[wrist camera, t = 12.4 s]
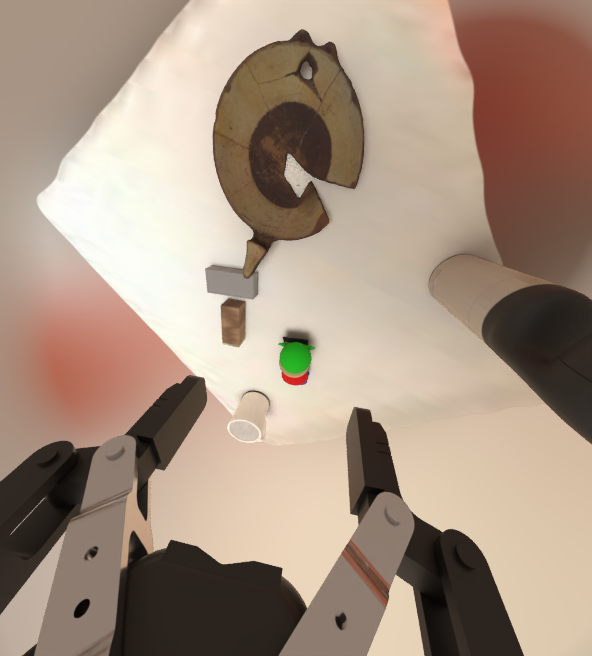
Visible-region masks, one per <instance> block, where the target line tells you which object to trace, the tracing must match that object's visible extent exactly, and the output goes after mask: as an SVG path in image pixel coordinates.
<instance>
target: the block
mask: <svg viewBox="0 0 592 656" xmlns="http://www.w3.org/2000/svg"><path fill="white" fill-rule="evenodd" d="M221 321H222V340H223V344H224V345H230V346H235V347H240V345H241V344H242V342H243V341H244V339H245V301H239V300H234V299H227V300H226V301H225V302H224V303H223V304H222V305H221Z"/></svg>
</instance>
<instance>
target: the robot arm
mask: <svg viewBox="0 0 592 656" xmlns="http://www.w3.org/2000/svg"><path fill="white" fill-rule="evenodd" d="M429 289H430V292H431V294H432V296H433V297H434V298H435V299H436V300H437V301H438V302H439V303H441V304H442V305H443V306H444V307H445V308H446V309H447V310H448V311H449V312H451V313H452V314H453V315H454V316H455V317H456V318H457V319H458V320H460V321H461V322H462V323H463V324H464V325H465V326H466V327H467V328H469V329H470V330H471V331H472V332H473V333H474V334H475V335H477V336H478V337H479V338H480V339H481V340H482V341H483V342H485V343H486V344H487V345H488V346H489V347H490V348H491V349H492V350H493V351H494V352H495V353H496V354H497V355H498V356H499V357H500V358H501V359H502V360H503V361H504V362H505V363H506V364H508V365H509V366H510V367H511V368H512V369H513V370H514V371H515V372H516V373H517V374H518V375H519V376H520V377H521V378H522V379H523V380H524V381H525V382H526V383H527V384H528V385H529V387H530V388H531V389H532V390H533V391H534V392H535V393H536V394H537V395H538V396H539V397H540V398H541V399H542V400H543V401H544V402H545V403H546V404H547V405H548V406H549V407H550V408H551V409H552V410H553V411H554V412H555V413H556V414H557V415H558V416H559V417H560V418H561V419H563V420H564V422H566V423H567V424H568V425H569V426H570V427H571V428H573V429H574V430H575V431H576V432H578V433H579V434H580V435H581V436H582V437H583V438H585V439H586V440H587V441H588V442H590V443H591V444H592V300H591V299H589V298H588V297H587V296H585V295H584V294H582V293H579V292H577V291H575V290H571V289H568V288H566V287H563V286H560V285H557V284H554V283H551V282H548V281H545V280H542V279H539V278H536V277H533V276H530V275H527V274H524V273H522V272H519V271H516V270H513V269H510V268H507V267H504V266H501V265H498V264H495V263H492V262H490V261H487V260H484V259H481V258H478V257H475V256H472V255H466V254H465V255H457V256H453V257H451V258H449V259H447V260H445V261H444V262H442V263H441V264H440V265H439V266H438V267H437V268H436V269H435V270H434V272H433V273H432V275H431V278H430V281H429ZM206 402H207V393H206V386H205V379H204V378H202V377H197V376H192V375H189V376H187V377H186V378H185V379H184V380H183V382H182V383H181V384H179V383H176V384H174V385H173V386H171V387H170V388H168V389H166V391H165V392H164V393H163V394H162V395H161V396H160V397H159V399H157V400H156V402H154V404H153V406H151V407H150V408H149V409H148V410H147V411H146V412H145V414H144V415H143V416H142V417H141V418H140V419H139V420H138V421H137V422H136V423H135V424H134V425H133V427H131V429H130V430H129V431H128V432H127V433H126V434H125V435H122V436H118V437H115V438H112V439H110V440H109V441H107V442H105V443H104V444H103V445H102V446H97V447H88V448H79V449H75V447H74V446H73V444H72V443H71V442H68V441H58V442H54V443H51V444H49V445H46V446H44V447H42V448H41V449H39V450H37V451H36V452H35V453H33V454H32V455H31V456H30V457H29V458H27V459H26V460H25V461H24V462H23V463H22V464H20V465H19V466H18V467H17V468H16V469H15V470H14V471H12V472H11V473H10V474H9V475H8V476H7V477H6V478H4V479H3V480H2V481H1V482H0V614H1V613H2V612H3V610H4V609H5V608H6V606H7V605H8V604H9V603H10V601H11V600H12V599H13V598H14V596H15V595H16V594H17V592H18V591H19V590H20V589H21V587H22V586H23V585H24V583H25V582H26V581H27V580H28V578H29V577H30V576H31V574H32V573H33V572H34V570H35V569H36V568H37V567H38V565H39V564H40V562H41V561H42V560H43V559H44V558H45V556H46V555H47V554H48V553H49V551H50V550H51V549H52V547H53V546H54V545H55V543H56V542H57V541H58V540H59V538H60V537H61V536H62V535H63V533H64V532H65V531H66V533H65V537H64V541H63V545H62V549H61V553H60V557H59V561H58V565H57V568H56V572H55V576H54V581H53V584H52V588H51V592H50V596H49V600H48V604H47V608H46V612H45V615H44V619H43V623H42V627H41V631H40V635H39V639H38V643H37V644H36V645H35V646H33V647H32V648H31V649H30V650H29V651H27V652H26V653H25V654H24V655H23V656H367V653H368V651H369V648H370V646H371V643H372V641H373V638H374V636H375V633H376V631H377V629H378V626H379V624H380V621H381V619H382V616H383V614H384V611H385V609H386V606H387V603H388V599H389V589H390V587H391V584H392V582H393V579H394V577H395V575H397V576H399V577H400V578H401V579H403V580H404V581H406V582H407V583H409V584H410V585H411V586H413V590H414V595H415V602H416V607H417V613H418V619H419V625H420V631H421V637H422V643H423V649H424V655H425V656H524V655H523V652H522V649H521V647H520V644H519V642H518V639H517V637H516V634H515V632H514V629H513V627H512V624H511V621H510V619H509V616H508V614H507V611H506V609H505V606H504V604H503V601H502V599H501V596H500V593H499V591H498V588H497V586H496V584H495V581H494V578H493V576H492V573H491V570H490V568H489V566H488V563H487V561H486V559H485V557H484V555H483V553H482V552H481V550H480V549H479V548H478V546H477V545H476V544H475V543H474V542H473V541H472V540H471V539H470V538H469V537H468V536H466V535H465V534H463V533H462V532H460V531H457V530H453V529H448V530H446V531H444V532H441V531H440V530H438V529H436V528H435V527H433V526H431V525H429V524H428V523H426V522H424V521H423V520H421V519H420V518H418V517H417V516H416V515H414V514H413V513H412V512H411V510H410V509H409V507H408V506H407V504H406V503H405V502H404V501H403V499H402V496H401V494H400V490H399V486H398V481H397V477H396V474H395V469H394V465H393V460H392V456H391V452H390V447H389V446H388V445H389V443H388V439H387V435H386V432H385V431H384V429H383V427H382V426H381V424H380V423H377V422H372V417H371V412H370V410H368V409H363V408H358V407H354V408H353V411H352V414H351V417H350V420H349V423H348V426H347V432H346V443H347V461H348V479H349V496H350V513H351V514H353V515H357V516H358V523H359V526H358V528H357V529H356V531H355V533H354V534H353V536H352V538H351V539H350V541H349V543H348V544H347V545H346V547H345V548H344V550H343V552H342V553H341V555H340V557H339V558H338V560H337V561H336V563H335V565H334V566H333V568H332V570H331V571H330V573H329V574H328V576H327V578H326V579H325V581H324V583H323V584H322V586H321V587H320V589H319V591H318V592H317V594H316V596H315V597H314V599H313V600H312V602H311V604H310V605H309V607H308V609H307V607H306V605H305V603H304V601H303V599H302V598H301V596H300V594H299V593H298V591H297V590H296V589H295V588H294V586H292V584H291V583H290V582H289V581H287V580H286V579H285V578H284V577H282V576H281V575H282V568H280V567H276V566H272V565H268V564H264V563H260V562H256V561H250V562H242V563H233V564H220V563H219V562H217V561H216V560H215V559H213V558H212V557H211V556H209V555H208V554H207V553H205V552H204V551H203V550H201V549H200V548H199V547H197V546H193V545H189V544H185V543H181V542H178V541H174V540H171V541H170V542H169V544H168V547H167V548H166V549H161V550H157V551H155V552H153V537H152V532H151V524H150V512H151V511H150V510H151V505H150V503H151V477H150V476H151V474H152V473H153V472H154V470H155V469H160V470H165V469H166V467H167V466H168V464H169V463H170V461H171V459H172V458H173V456H174V455H175V453H176V452H177V450H178V448H179V447H180V445H181V444H182V442H183V441H184V439H185V438H186V436H187V435H188V433H189V431H190V430H191V428H192V427H193V425H194V424H195V422H196V420H197V419H198V418H199V416H200V414H201V413H202V411H203V410H204V408H205V406H206ZM43 498H45V499H44V500H43V501H42V502H41V503H40V501H41V500H42V499H43ZM39 503H40V504H39ZM38 504H39V505H38ZM37 505H38V506H37ZM36 506H37V507H36ZM35 507H36V508H35ZM34 508H35V509H34ZM33 509H34V510H33ZM32 510H33V512H32V513H31V514H30V515H29V516H28V517H27V518H26V519H25V517H26V516H27V515H28V514H29V513H30V512H31V511H32ZM24 519H25V520H24ZM23 520H24V521H23ZM22 521H23V522H22ZM21 522H22V523H21ZM20 523H21V524H20ZM19 524H20V526H19V527H18V528H17V529H16V530H15V531H14V532H13V533H12V531H13V530H14V529H15V528H16V527H17V526H18V525H19ZM11 533H12V534H11ZM10 534H11V535H10Z"/></svg>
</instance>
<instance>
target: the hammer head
mask: <svg viewBox="0 0 592 656" xmlns="http://www.w3.org/2000/svg"><path fill="white" fill-rule="evenodd" d="M205 271H206V281H207V291H208V292H209V293H215V294H221V295H228V296H234V297H240V298H247V299H254V298H255V297H256V296H257V295H258V272H254V273H253V274H252V276H251V277H250V278H249V279H246V278H244V276H243V270H240V269H233V268H226V267H220V266H213V265H212V266H210V267H208V268H206V269H205Z"/></svg>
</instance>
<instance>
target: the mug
mask: <svg viewBox="0 0 592 656" xmlns="http://www.w3.org/2000/svg"><path fill="white" fill-rule="evenodd" d="M268 408H269V400H268V398H267V397H266V396H265V395H264V394H263V393H261V392H258V391H249V392H247V393H246V394H245V395H244V396H243V398H242V400H241V402H240V404H239V406H238V408H237V410H236V412H235V414H234V415H233V417H232V419H231V420H230V422H229V424H228V431H229V433H230V434H231V435H232V436H233V437H234V438H236V439H237V440H240V441H243V442H249V443H251V442H256V441H259V442H261V441H263V440H264V439H265V431H266V420H265V418H266V415H267V411H268ZM261 434H262V438H261V439H260V437H261Z"/></svg>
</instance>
